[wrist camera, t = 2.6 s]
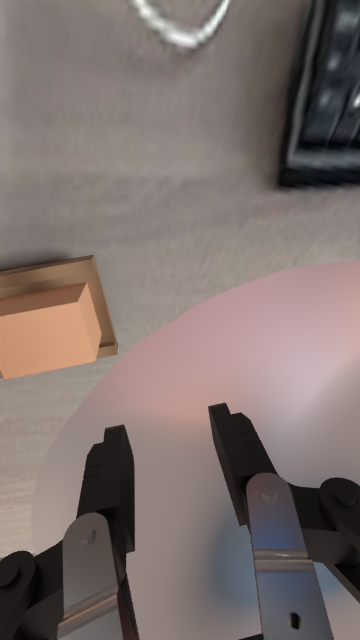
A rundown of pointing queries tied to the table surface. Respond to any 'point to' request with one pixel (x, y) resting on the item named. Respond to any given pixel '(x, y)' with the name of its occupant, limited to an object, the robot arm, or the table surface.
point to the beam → (64, 276)
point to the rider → (47, 331)
